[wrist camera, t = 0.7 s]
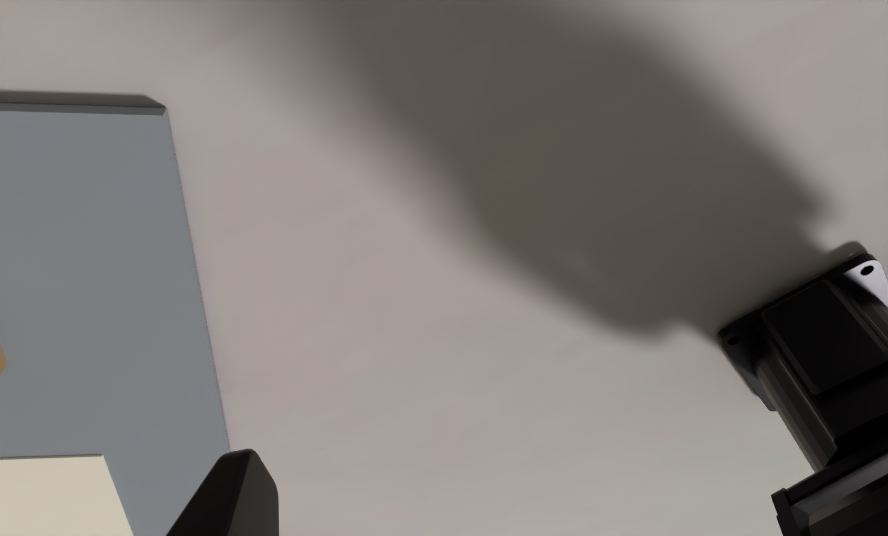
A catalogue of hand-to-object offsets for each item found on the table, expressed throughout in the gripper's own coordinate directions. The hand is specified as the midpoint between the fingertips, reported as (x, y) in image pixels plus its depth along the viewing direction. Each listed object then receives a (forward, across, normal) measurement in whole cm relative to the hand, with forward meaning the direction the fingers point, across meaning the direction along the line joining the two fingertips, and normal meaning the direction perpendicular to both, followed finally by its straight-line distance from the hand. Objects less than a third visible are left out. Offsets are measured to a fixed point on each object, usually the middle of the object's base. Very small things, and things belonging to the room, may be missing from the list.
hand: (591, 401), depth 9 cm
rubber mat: (+13, +19, +11) cm, 25 cm away
